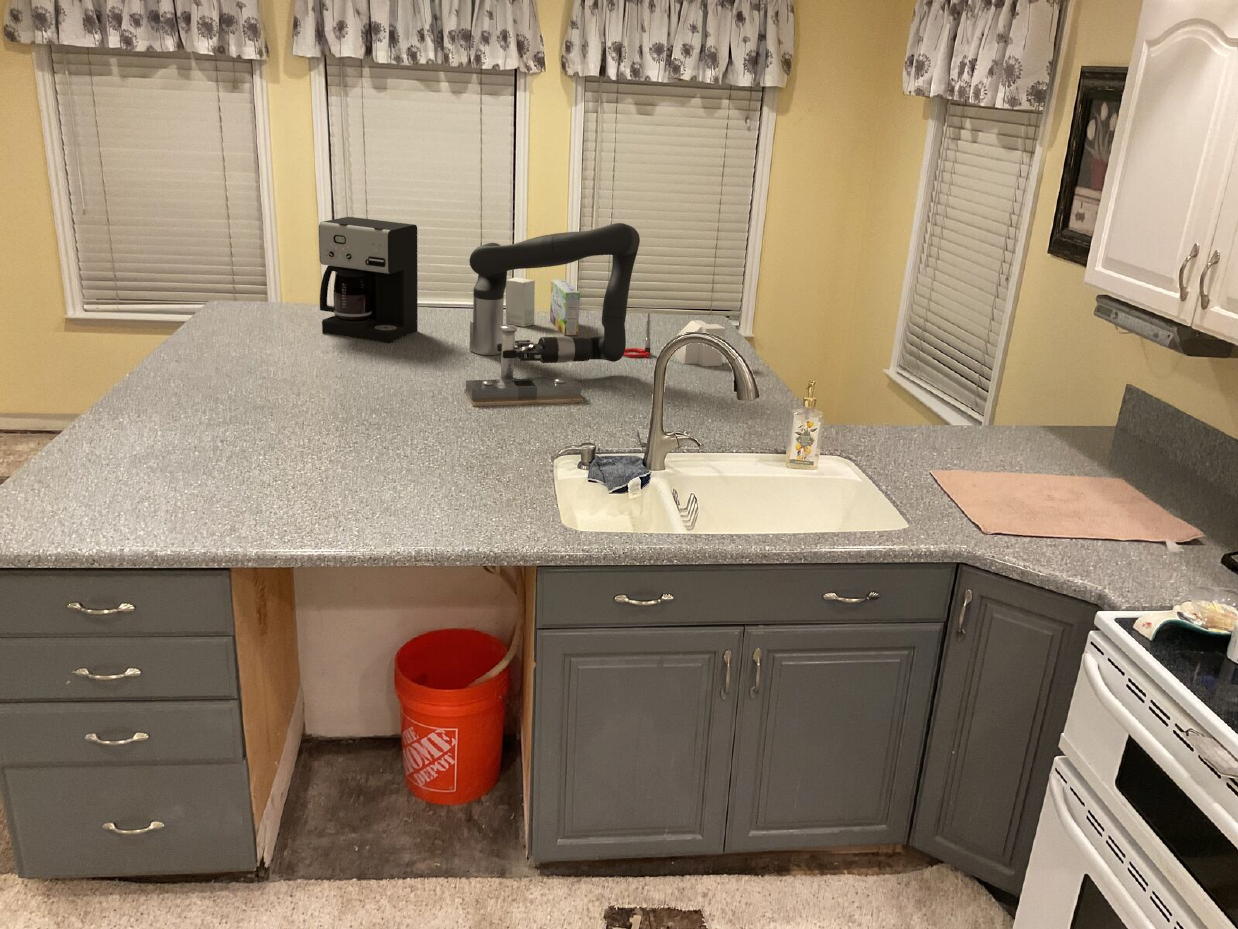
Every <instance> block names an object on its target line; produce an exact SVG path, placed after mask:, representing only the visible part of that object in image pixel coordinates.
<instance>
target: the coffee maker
mask: <svg viewBox="0 0 1238 929" xmlns="http://www.w3.org/2000/svg"><path fill="white" fill-rule="evenodd" d="M318 248H319V263H320V264H321V265H323V266H326V269H325V271H324V273H323V275H322V278H321V283H320V289H319V291H320V292H319V311H322V312H329V313H333V314H334V315H332V316H329V317H327V318H324V319H322V321H321V332H322V334H324V335H325V334H326V335H332V336H339V337H346V338H352V339H358V340H366V341H371V342H378V343H385V344H391V343H394V342H396V341H399V340H401V339H402V338H405V337H407V336H409V335H413V334H414V333H416V332H418V329H419V328H418V327H419V326H418V325H419V324H418V320H419V319H418V313H419V312H418V225H416V224H413V223H412V224H411V223H407V222H406V223H405V222H396V221H388V220H381V219H380V220H379V219H373V218H372V219H371V218H363V217H354V216H345V217H339V218H334V219H330V220H325V221H321V222H320V223H319V224H318ZM333 272H334V273H335V272H336V274H335V277H334V282H333V295H332V296H333V305H328V291H329V285H330V284H329V283H330V280H331V275H332V273H333Z"/></svg>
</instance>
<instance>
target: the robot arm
mask: <svg viewBox="0 0 1238 929" xmlns="http://www.w3.org/2000/svg"><path fill="white" fill-rule="evenodd" d="M640 239H641V238H640V234H639V232H638V231H637V229H635V228H634V227H633V226H631V225H629V224H626V223H622V222H616V223H612V224H608V225H605V226H602V227H598V228H594V229H590V230H589V229H588V230H584V231H567V232H560V233H559V232H558V233H550V234H544V235H540V236H535V237H532V238H528V239H525V240H523V241H519V242H515V243H513V244H507V245H506V244H505V245H501V244H499V243H496V242H489V243H485V244H483V245H479V246H477V247H476V248H475V249H473V251H472V253H470V256H469V260H468V262H469V267H470V268H471V269H472V271H473V272H474V273H476V274H478V276H477V280H476V283H475V285H474V286H473V289H472V290H473V293H472V299H473V300H472V320H470V322H469V352H472V353H475V354H476V355H477V354H478V355H482V356H495V355H496V356H497V355H500V354H502V331H501V330H500V326H501V325H504V301H505V300H504V299H505V298H504V297H505V296H504V294H505V292H506V281H507V279H508V278H507V277H508V271H513V270H523V269H525V270H526V269H539V268H549V267H550V268H551V267H558V266H563V265H568V264H572V263H574V262H578V261H579V260H582V259H585V258H588V257H589V258H590V257H596V256H597V257H598V256H612V257H611V258H612V261H611V262H612V264H611V265H612V266H611V272H610V277H609V280H608V284H607V287H606V290H605V293H604V297H603V304H602V312H601V325H602V327H603V328H604V329H603V335H601V336H592V337H591V336H590V337H585V336H584V337H582V336H578V337H577V336H576V337H575V336H573V337H571V336H570V337H569V336H541V337H540V338H539V340H538V342H537V343H535V342H533V341H531V340H530V339H527V340H526V339H525V340H515V347H514V350H503V358H514V359H516V360H519V361H520V362H530V361H531V362H540V363H542V364H565V363H570V362H571V363H572V362H577V363H578V362H588V361H590V360H594V361H595V360H601V361H602V360H604V361H608V362H613V363H615V362H618V361H620V360H621V359H622V358H623V357H624V356H623V355H624V352H625V349H626V346H627V345H626V344H627V343H626V342H627V336H626V335H627V333H626V319H627V318H626V316H627V310H628V300H629V291H630V286H631V279H632V274H633V270H634V266H635V262H636V258H637V254H638V251H639V247H640V244H641V243H640V241H641V240H640ZM625 353H626V352H625Z"/></svg>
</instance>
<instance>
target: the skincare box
mask: <svg viewBox="0 0 1238 929" xmlns="http://www.w3.org/2000/svg"><path fill="white" fill-rule="evenodd" d="M535 282H536V281H535V280H533V279H530V278H529V279H528V278H521V277H517V276H515V277H512V278H509V279H508V278H507V281H506V288H505V325H514V326H517V327H523V328H526V327H530V326H533V325H535V301H536V300H535V298H536V297H535V293H536V292H535V289H536V288H535V287H536V285H535Z"/></svg>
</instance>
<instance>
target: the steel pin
mask: <svg viewBox="0 0 1238 929" xmlns="http://www.w3.org/2000/svg"><path fill="white" fill-rule="evenodd" d="M500 330H501V331H502V353H501V360H500V361H501V363H500V379H514V377H515V376H514V373H515V369H514V368H515V358H503V350H514V347H516V345H515V341H516V340H515V339H516V332H518V326H516V325H511V324H503V325H501V326H500Z"/></svg>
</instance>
